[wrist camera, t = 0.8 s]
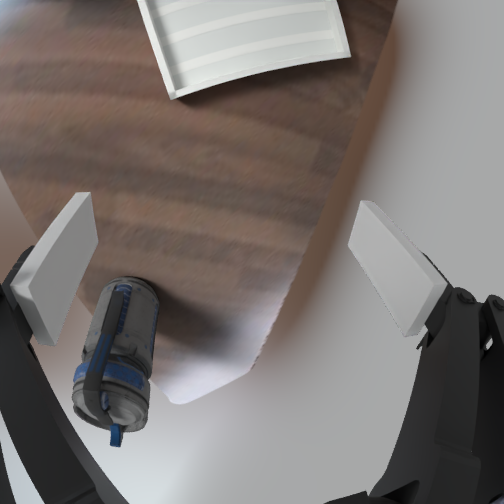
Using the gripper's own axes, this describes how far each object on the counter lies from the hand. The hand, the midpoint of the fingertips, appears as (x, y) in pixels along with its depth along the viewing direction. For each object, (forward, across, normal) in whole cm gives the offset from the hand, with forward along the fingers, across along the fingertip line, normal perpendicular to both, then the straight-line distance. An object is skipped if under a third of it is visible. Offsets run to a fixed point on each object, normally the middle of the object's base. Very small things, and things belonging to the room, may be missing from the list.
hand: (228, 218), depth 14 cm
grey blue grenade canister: (+25, -13, -28) cm, 40 cm away
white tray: (+26, +2, +15) cm, 30 cm away
